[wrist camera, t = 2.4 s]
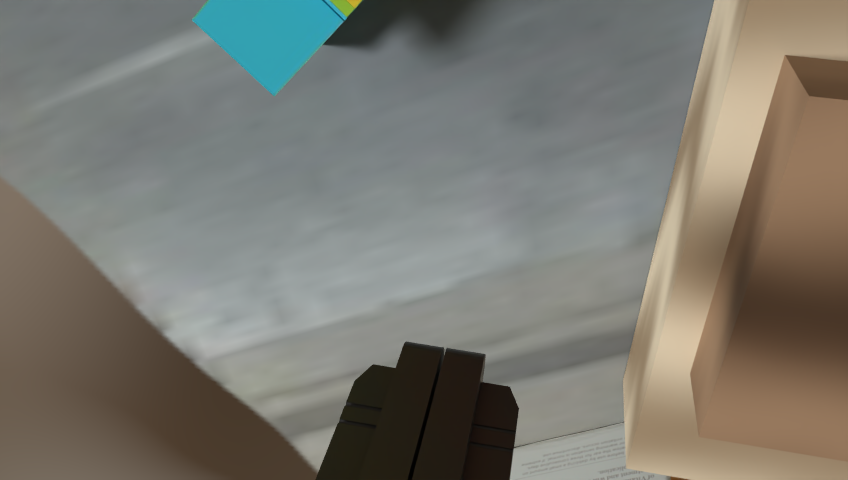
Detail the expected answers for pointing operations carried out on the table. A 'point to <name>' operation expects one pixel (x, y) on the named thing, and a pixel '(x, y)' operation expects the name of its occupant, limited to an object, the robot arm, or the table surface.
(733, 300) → the walnut tile
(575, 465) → the small box
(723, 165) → the birch deck
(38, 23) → the table surface
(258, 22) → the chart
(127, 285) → the table surface
